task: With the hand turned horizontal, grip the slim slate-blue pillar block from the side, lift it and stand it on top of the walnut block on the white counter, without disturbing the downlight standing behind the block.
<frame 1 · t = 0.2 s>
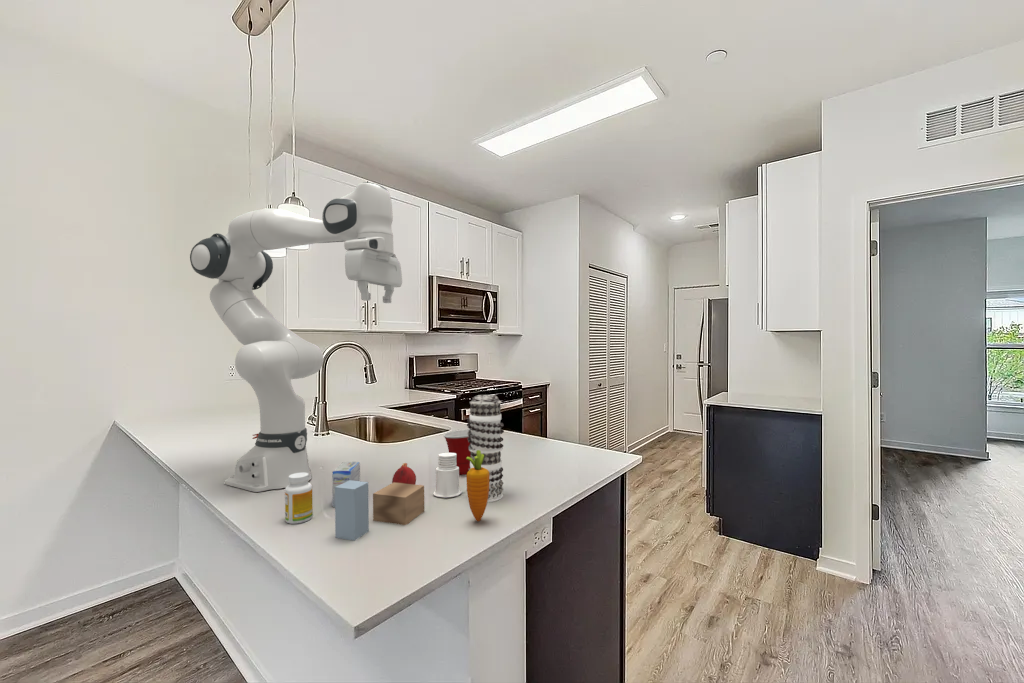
hand: (377, 301, 114), 49 cm above the counter, tool pointing down, fingers open, 8 cm apart
plastic cup: (461, 472, 131), on the counter
downlight: (447, 494, 113), on the counter
supplement bottle: (299, 520, 97), on the counter
walnut block: (399, 516, 98), on the counter
carrot: (478, 522, 95), on the counter
red round fruit: (404, 495, 112), on the counter
slate pillar: (352, 534, 89), on the counter
medicine box: (346, 502, 107), on the counter
decorative candle: (485, 496, 110), on the counter
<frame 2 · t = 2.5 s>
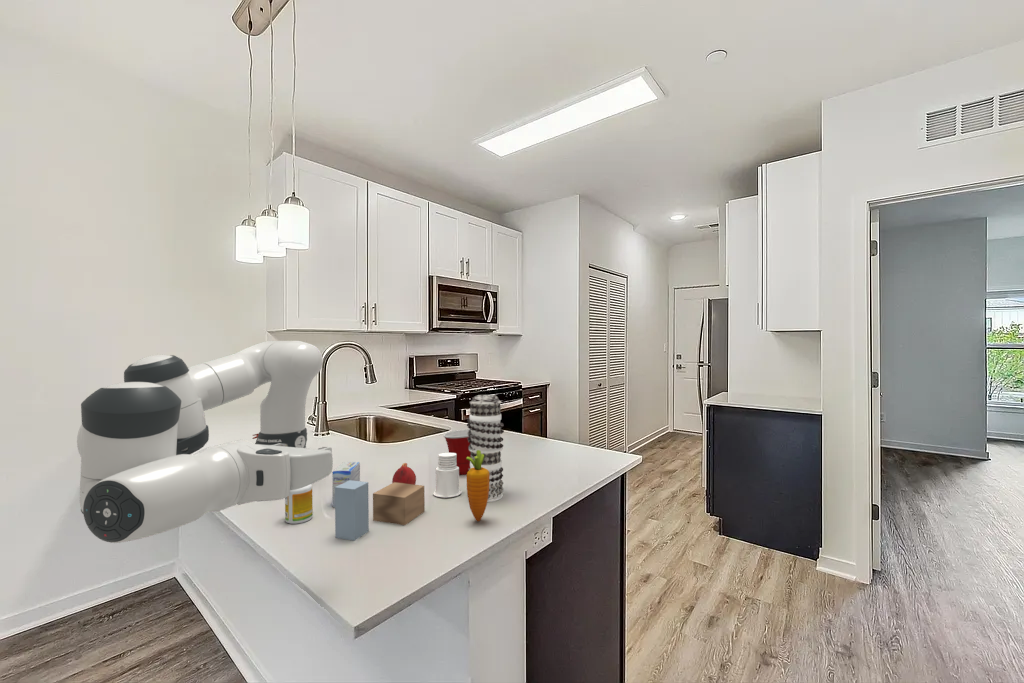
hand: (306, 449, 77), 20 cm above the counter, tool horizontal, fingers open, 8 cm apart
nothing on the counter moved.
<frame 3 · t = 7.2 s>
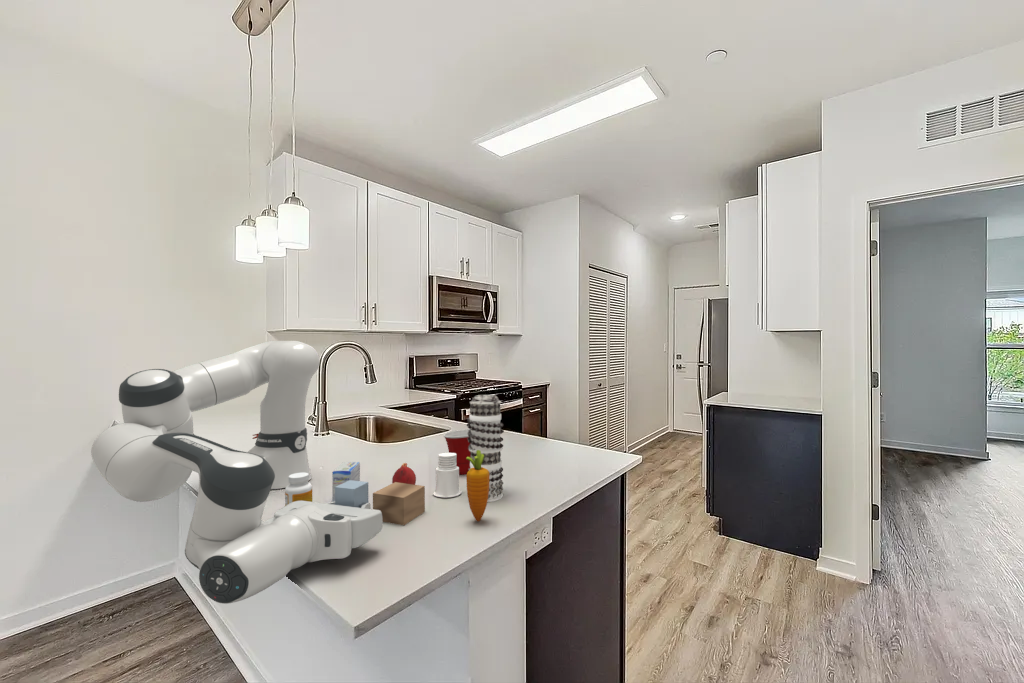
hand: (355, 504, 90), 6 cm above the counter, tool horizontal, fingers closed on slate pillar, 4 cm apart
slate pillar: (352, 534, 89), on the counter, touching gripper
everything else where it was.
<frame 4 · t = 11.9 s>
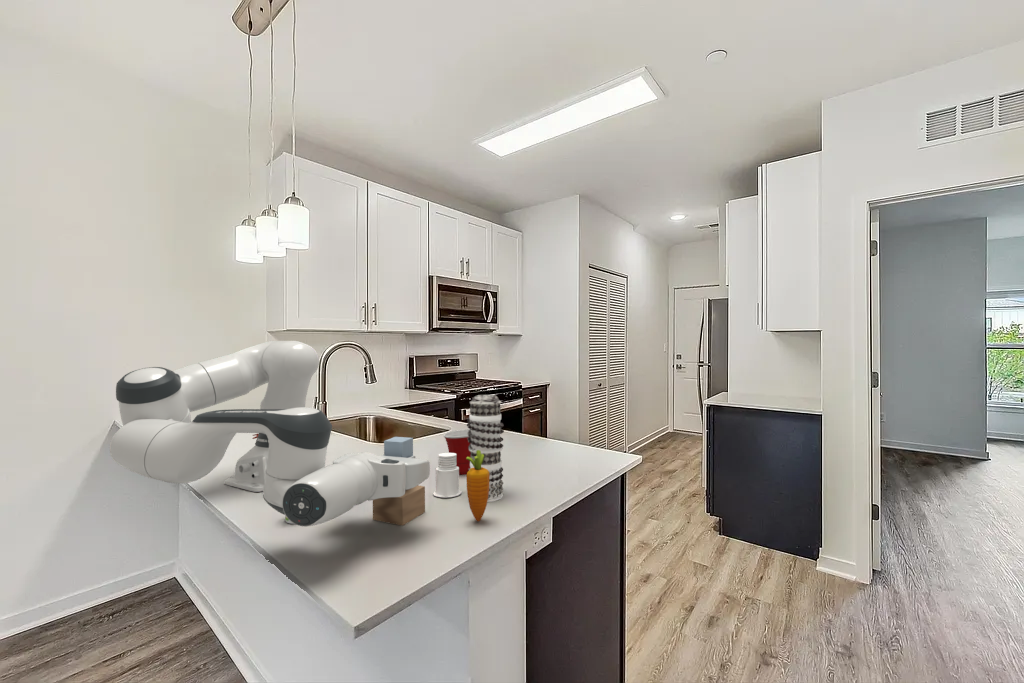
hand: (401, 458, 99), 13 cm above the counter, tool horizontal, fingers closed on slate pillar, 4 cm apart
slate pillar: (398, 484, 98), point 7 cm above the counter, touching gripper
everything else where it was.
when the fingers open (12 cm above the counter, at t = 12.2 s): slate pillar drops 1 cm, point 6 cm above the counter.
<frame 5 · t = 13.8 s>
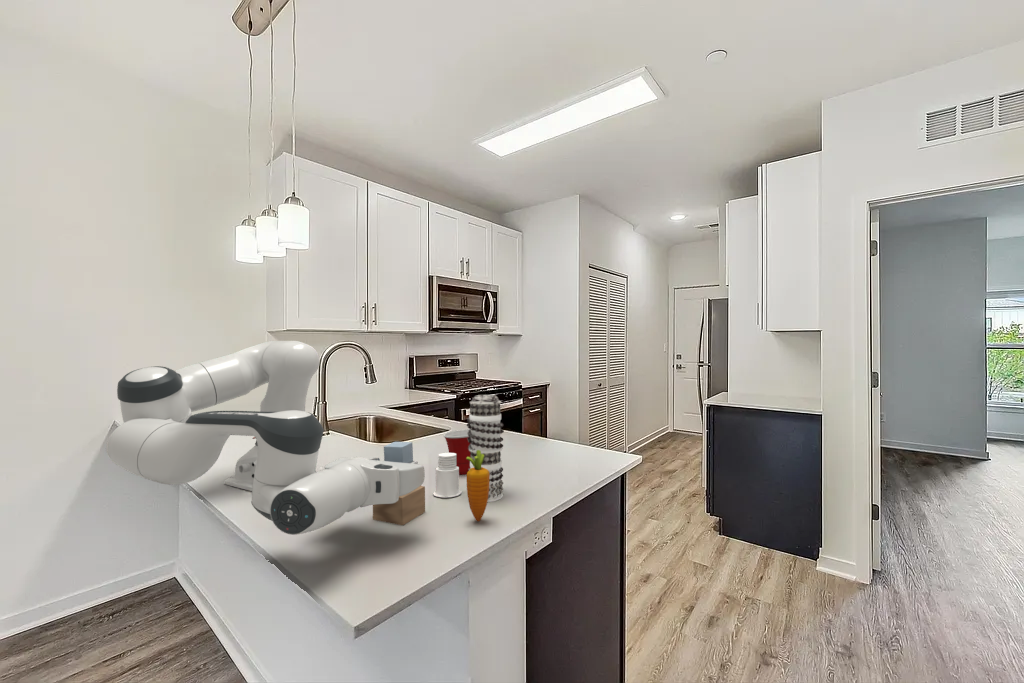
hand: (395, 462, 97), 12 cm above the counter, tool horizontal, fingers open, 8 cm apart
slate pillar: (399, 489, 98), point 6 cm above the counter
everything else where it was.
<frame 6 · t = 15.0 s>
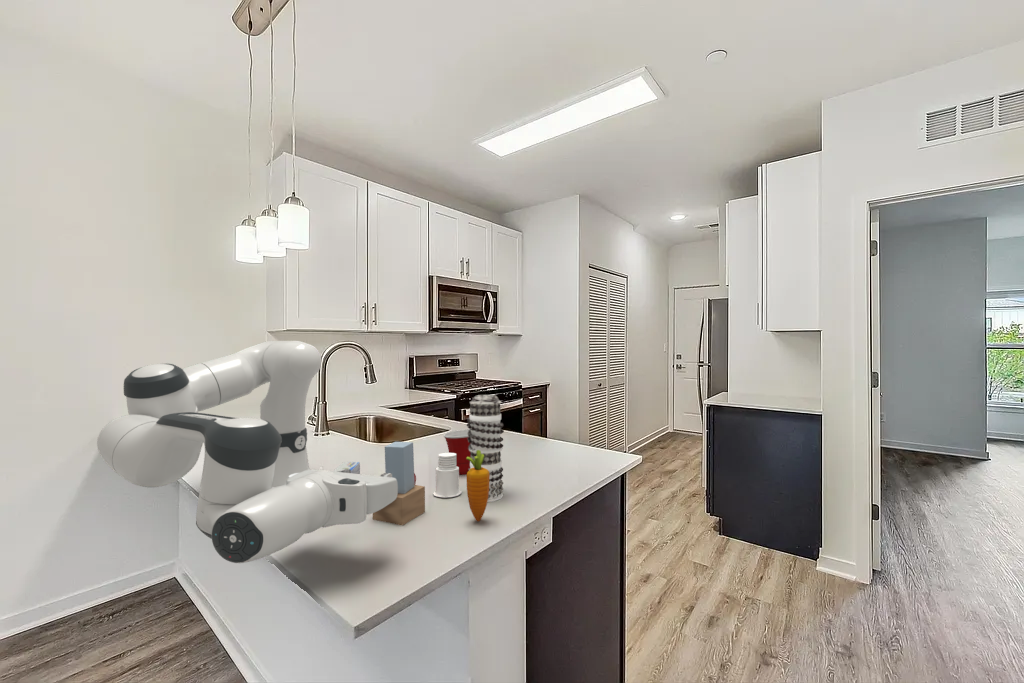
hand: (368, 474, 88), 12 cm above the counter, tool horizontal, fingers open, 8 cm apart
walnut block: (399, 516, 99), on the counter, touching slate pillar
slate pillar: (400, 489, 98), point 6 cm above the counter, touching walnut block
everything else where it was.
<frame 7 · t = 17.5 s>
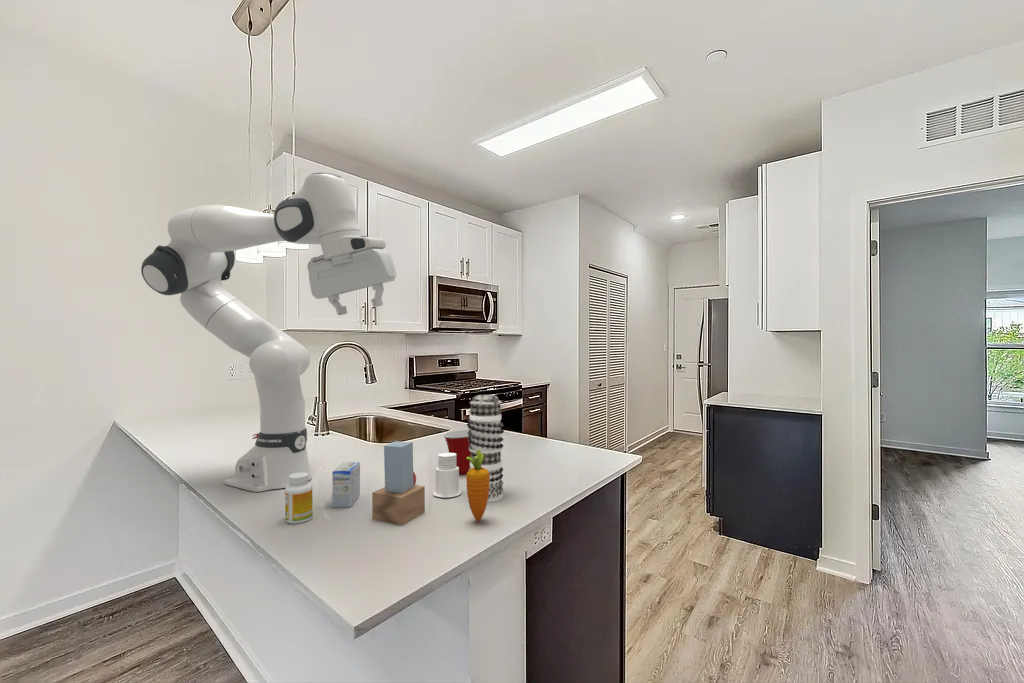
hand: (360, 310, 98), 46 cm above the counter, tool pointing down, fingers open, 8 cm apart
walnut block: (399, 516, 99), on the counter
slate pillar: (399, 488, 99), point 6 cm above the counter
everything else where it was.
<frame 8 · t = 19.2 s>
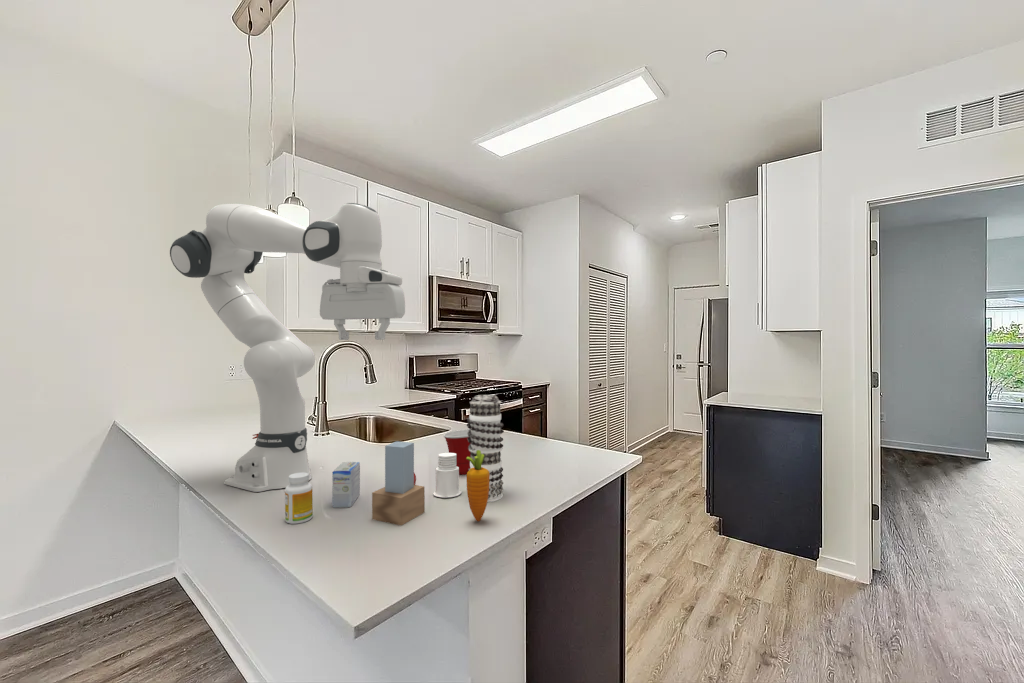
hand: (361, 339, 99), 39 cm above the counter, tool pointing down, fingers open, 8 cm apart
nothing on the counter moved.
at the end: slate pillar 0.2 cm off-centre on the walnut block, point 6.0 cm above the walnut block's base; slate pillar tilted 1°; downlight moved 0.3 cm from its start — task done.
